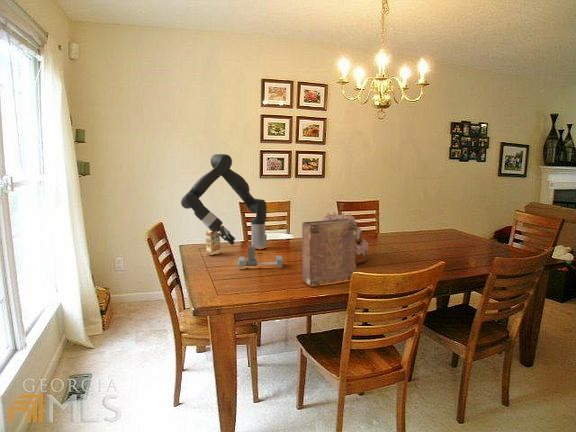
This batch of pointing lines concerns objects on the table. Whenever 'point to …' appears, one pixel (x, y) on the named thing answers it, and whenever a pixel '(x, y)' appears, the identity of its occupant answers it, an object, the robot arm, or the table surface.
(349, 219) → the cake
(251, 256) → the block
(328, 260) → the book
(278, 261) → the rail
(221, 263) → the table surface
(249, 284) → the table surface
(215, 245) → the candy box
